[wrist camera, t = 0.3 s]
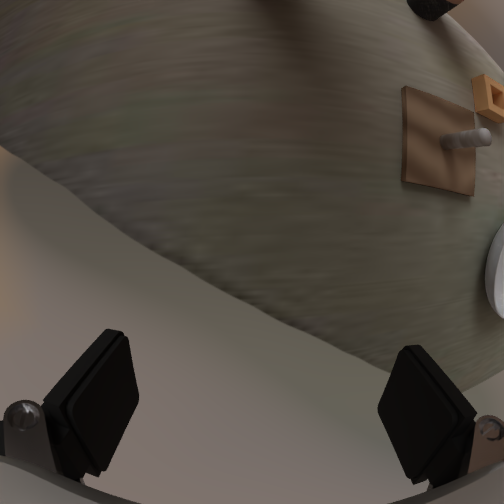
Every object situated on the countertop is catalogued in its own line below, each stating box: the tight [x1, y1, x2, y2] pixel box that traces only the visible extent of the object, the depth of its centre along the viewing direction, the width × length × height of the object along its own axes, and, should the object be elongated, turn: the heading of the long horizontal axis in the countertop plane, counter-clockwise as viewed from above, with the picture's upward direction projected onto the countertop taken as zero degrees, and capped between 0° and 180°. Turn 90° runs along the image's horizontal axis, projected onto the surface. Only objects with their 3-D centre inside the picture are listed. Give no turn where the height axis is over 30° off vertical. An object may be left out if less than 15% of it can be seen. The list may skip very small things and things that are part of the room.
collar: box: [471, 74, 504, 123], centre depth 30 cm, size 7×7×4 cm
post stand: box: [401, 86, 492, 196], centre depth 29 cm, size 15×15×12 cm
